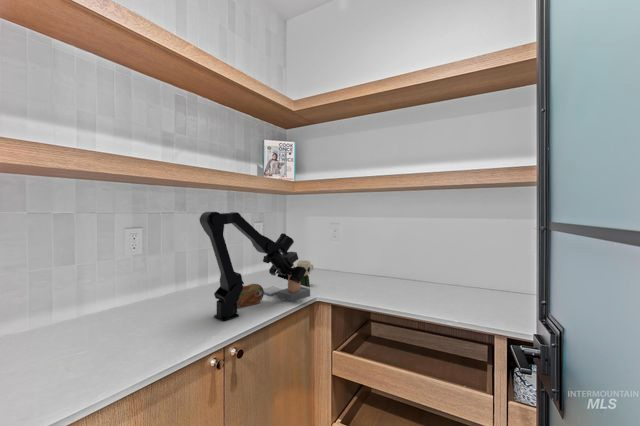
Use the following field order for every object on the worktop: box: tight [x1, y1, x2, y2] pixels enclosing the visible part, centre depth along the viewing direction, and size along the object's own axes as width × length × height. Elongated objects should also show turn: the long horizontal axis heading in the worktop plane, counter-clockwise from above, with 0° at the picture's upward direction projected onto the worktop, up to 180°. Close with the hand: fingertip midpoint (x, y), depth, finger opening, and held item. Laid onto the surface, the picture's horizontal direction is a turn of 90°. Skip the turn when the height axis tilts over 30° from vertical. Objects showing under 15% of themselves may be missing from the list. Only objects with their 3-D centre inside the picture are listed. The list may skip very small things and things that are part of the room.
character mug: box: [293, 260, 314, 287], centre depth 141 cm, size 11×7×13 cm, turn 118°
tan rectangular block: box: [287, 275, 300, 292], centre depth 125 cm, size 4×4×12 cm
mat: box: [263, 285, 284, 297], centre depth 131 cm, size 9×9×1 cm
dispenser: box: [276, 285, 311, 303], centre depth 125 cm, size 12×9×4 cm
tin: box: [237, 283, 265, 309], centre depth 113 cm, size 15×3×8 cm, turn 129°
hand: (296, 281), depth 126 cm, fingers closed on tan rectangular block, 3 cm apart
